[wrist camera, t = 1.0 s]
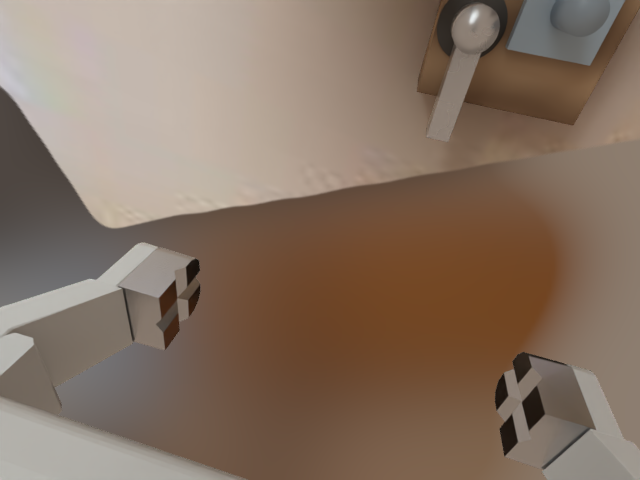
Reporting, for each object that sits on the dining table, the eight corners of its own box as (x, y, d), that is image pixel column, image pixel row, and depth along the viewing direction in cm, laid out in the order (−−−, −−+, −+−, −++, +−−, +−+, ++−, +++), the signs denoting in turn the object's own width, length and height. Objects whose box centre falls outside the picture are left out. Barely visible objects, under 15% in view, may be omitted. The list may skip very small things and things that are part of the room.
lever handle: (459, -2, 28) (461, 0, 25) (500, 6, 27) (507, 9, 25) (419, 124, 33) (418, 136, 31) (453, 132, 33) (455, 144, 31)
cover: (544, -50, 25) (562, -54, 22) (636, -34, 25) (671, -36, 21) (504, 47, 29) (515, 57, 26) (585, 63, 28) (608, 76, 25)
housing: (470, -101, 29) (477, -114, 24) (650, -72, 27) (690, -80, 23) (418, 78, 36) (417, 92, 32) (556, 108, 35) (573, 126, 31)
